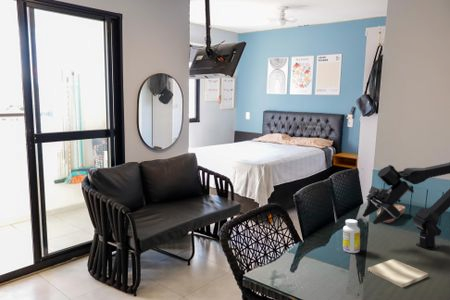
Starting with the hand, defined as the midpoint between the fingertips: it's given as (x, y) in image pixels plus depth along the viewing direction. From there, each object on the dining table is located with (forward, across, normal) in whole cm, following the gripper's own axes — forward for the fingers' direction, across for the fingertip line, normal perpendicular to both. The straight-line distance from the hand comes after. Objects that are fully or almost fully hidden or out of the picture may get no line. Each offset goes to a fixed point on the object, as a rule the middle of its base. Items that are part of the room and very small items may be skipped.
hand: (368, 219), depth 148 cm
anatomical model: (-11, -36, +30) cm, 48 cm away
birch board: (+8, +22, +10) cm, 25 cm away
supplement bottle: (+14, 0, +4) cm, 15 cm away
